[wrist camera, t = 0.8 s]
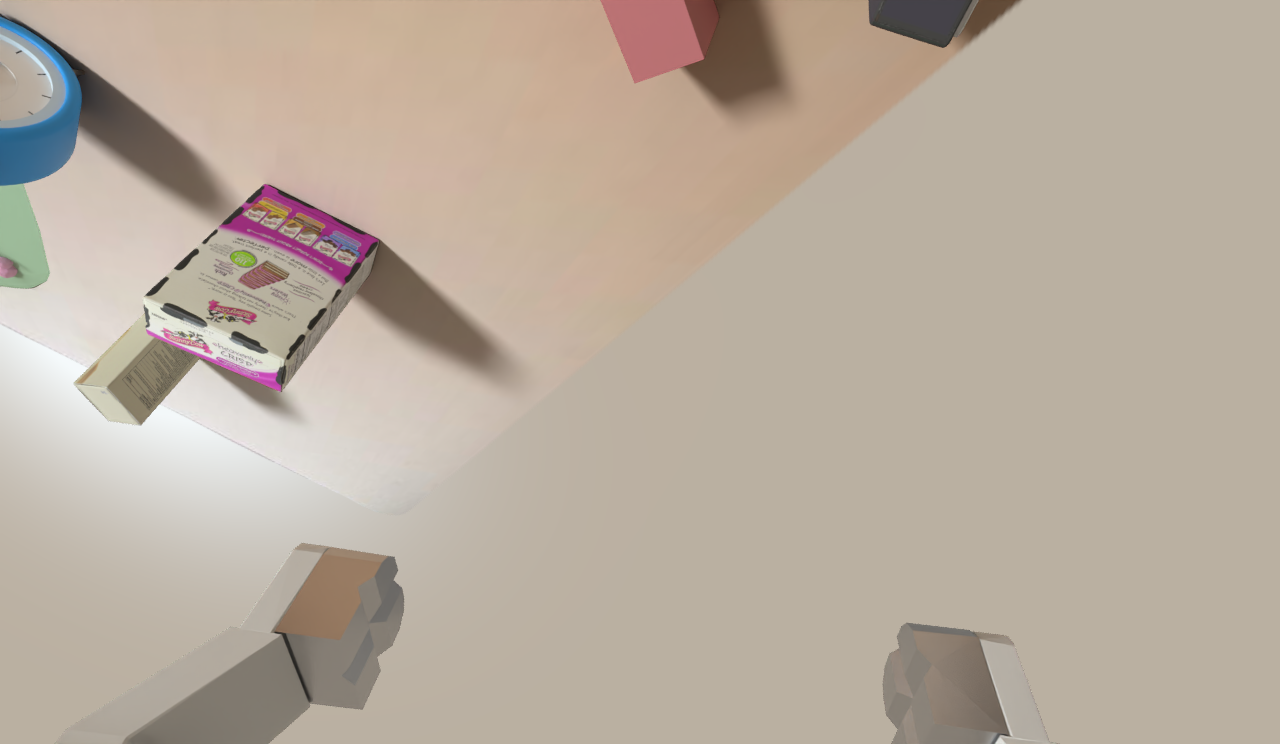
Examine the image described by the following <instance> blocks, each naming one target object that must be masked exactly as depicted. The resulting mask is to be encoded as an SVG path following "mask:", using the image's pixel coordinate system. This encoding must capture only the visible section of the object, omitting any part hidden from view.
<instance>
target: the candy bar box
mask: <svg viewBox="0 0 1280 744" xmlns="http://www.w3.org/2000/svg"><path fill="white" fill-rule="evenodd" d="M378 244H379V240H378V239H376V238H375V237H373V236H371V235H369V234H367V233H365V232H363V231H361V230H358V229H356V228H354V227H352V226H350V225H348V224H346V223H344V222H342V221H340V220H338V219H336V218H334V217H332V216H330V215H328V214H326V213H324V212H322V211H320V210H318V209H316V208H313V207H311V206H309V205H307V204H305V203H303V202H301V201H299V200H297V199H295V198H293V197H291V196H289V195H287V194H285V193H283V192H281V191H279V190H277V189H275V188H273V187H271V186H269V185H267V184H264V185H262V187H261V188H260V189H258V190H257V191H256V192H255V193H254V194H253V195H252V196H251V197H250V198H248V199H247V201H246V202H244V203H243V204H242V205H241V206H240V207H239V208H238V209H237V210H236V211H235V212H234V213H233V214H231V215H230V216H229V217H228V218H227V219H226V220H225V221H224V222H223V223H222V224H221V225H220V226H219V227H218V228H216V229H215V231H214V232H213V233H211V234H210V235H209V236H208V237H207V238H206V239H205V240H204V241H203V242H202V243H200V244H199V245H198V246H197V247H196V248H195V249H194V250H193V251H192V252H191V253H190V254H189V255H188V256H187V257H185V258H184V259H183V260H182V261H181V262H180V263H179V264H178V265H177V266H176V267H175V268H174V269H173V270H172V271H171V272H170V273H168V274H167V275H166V276H165V277H164V278H163V279H162V280H161V281H160V282H159V283H158V284H157V285H156V286H154V287H153V288H152V289H151V290H150V291H149V292H148V293H147V294H146V295H145V296H144V297H143V304H144V310H145V319H146V322H147V325H146V326H145V328H146V331H147V334H148V335H150V336H152V337H155V338H157V339H159V340H162V341H164V342H166V343H169V344H171V345H173V346H175V347H178V348H180V349H182V350H185V351H187V352H189V353H191V354H194V355H196V356H198V357H201V358H203V359H205V360H208V361H210V362H212V363H214V364H217V365H219V366H221V367H224V368H226V369H228V370H231V371H233V372H235V373H237V374H240V375H242V376H244V377H247V378H249V379H251V380H253V381H256V382H258V383H261V384H263V385H265V386H267V387H270V388H272V389H274V390H276V391H279V392H282V390H283V389H284V388H285V386H286V385H287V384H288V383H289V381H290V380H291V379H292V377H293V376H294V375H295V373H296V372H297V370H298V369H299V368H300V366H301V365H302V364H303V362H304V361H305V360H306V358H307V357H308V356H309V354H310V353H311V352H312V350H313V349H314V348H315V346H316V345H317V344H318V343H319V341H320V340H321V338H322V337H323V336H324V334H325V333H326V332H327V330H328V329H329V328H330V327H331V325H332V324H333V323H334V321H335V320H336V319H337V317H338V316H339V315H340V313H341V312H342V311H343V309H344V308H345V307H346V305H347V304H348V303H349V301H350V300H351V299H352V297H353V296H354V295H355V293H356V292H357V291H358V289H359V288H360V287H361V285H362V284H363V283H364V281H365V280H366V279H367V277H368V276H369V274H370V273H371V270H372V267H373V262H374V257H375V254H376V251H377V247H378Z"/></svg>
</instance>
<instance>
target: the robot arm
mask: <svg viewBox="0 0 1280 744" xmlns="http://www.w3.org/2000/svg"><path fill="white" fill-rule="evenodd" d="M397 571H398V568H397V565H396V562H395V557H392V556H385V555H379V554H372V553H366V552H359V551H353V550H346V549H339V548H334V547H328V546H320V545H312V544H305V543H301V544H300V545H299V546H297V547H296V548H295V549H293V550H292V551H291V553H290V554H289V556H288V557H287V559H286V560H285V561H284V563H283V564H282V566H281V567H280V569H279V570H278V572H277V574H276V575H275V576H274V578H273V579H272V581H271V582H270V584H269V585H268V587H267V588H266V589H265V591H264V592H263V594H262V595H261V597H260V598H259V600H258V601H257V603H256V604H255V605H254V607H253V608H252V610H251V611H250V613H249V614H248V616H247V617H246V619H245V620H244V622H243V623H242V625H241V626H240V628H236V627H229V628H228V629H226V630H225V631H223V632H221V633H220V634H218V635H216V636H215V637H213V638H212V639H210V640H208V641H207V642H205V643H204V644H202V645H201V646H199V647H197V648H196V649H194V650H192V651H191V652H189V653H188V654H186V655H185V656H183V657H181V658H180V659H178V660H176V661H175V662H173V663H172V664H170V665H168V666H167V667H165V668H164V669H162V670H160V671H159V672H157V673H156V674H154V675H152V676H151V677H149V678H147V679H146V680H144V681H143V682H141V683H139V684H138V685H136V686H135V687H133V688H131V689H130V690H129V691H127V692H125V693H123V694H122V695H120V696H119V697H117V698H115V699H114V700H112V701H111V702H109V703H108V704H106V705H104V706H103V707H101V708H99V709H98V710H96V711H95V712H93V713H91V714H90V715H88V716H86V717H85V718H83V719H82V720H80V721H78V722H77V723H75V724H74V725H72V726H70V727H69V728H67V729H66V730H65V731H64V733H63V734H62V735H61V736H60V738H59V739H58V740H57V741H56V742H55V744H268V743H270V742H271V741H272V740H273V739H274V738H275V737H276V736H277V735H279V734H280V733H281V732H282V731H283V730H284V729H286V728H287V727H288V726H289V725H290V724H291V723H292V722H294V720H296V719H297V718H298V717H299V716H300V715H301V714H302V713H304V712H305V711H306V710H307V709H308V708H309V707H310V704H309V703H311V704H320V705H328V706H336V707H345V708H354V709H363V707H364V705H365V703H366V701H367V699H368V697H369V695H370V692H371V690H372V688H373V686H374V684H375V681H376V680H377V677H378V675H379V673H380V667H379V663H378V659H377V657H378V656H379V655H380V654H382V653H383V652H384V651H386V650H387V649H388V648H390V647H391V646H392V645H393V642H394V640H395V638H396V636H397V633H398V631H399V629H400V625H401V620H402V616H403V612H404V595H403V590H402V588H401V587H400V586H399V585H398V584H397V583H396V582H395V581H394V577H395V575H396V574H397ZM897 639H898V644H899V649H897V650H896V651H894V652H892V653H890V654H889V657H888V659H887V662H886V665H885V669H884V678H883V695H884V696H883V697H884V704H885V711H886V715H887V717H888V718H889V719H890V720H891V722H892V723H893V724H894V725H895V726H896V728H897V729H898V730H897V733H896V735H895V737H894V739H893V741H892V743H891V744H1058V743H1053V742H1050V741H1049V739H1048V736H1047V733H1046V730H1045V728H1044V725H1043V722H1042V719H1041V717H1040V714H1039V711H1038V708H1037V706H1036V703H1035V700H1034V698H1033V695H1032V692H1031V689H1030V687H1029V684H1028V681H1027V679H1026V676H1025V673H1024V670H1023V668H1022V665H1021V662H1020V660H1019V657H1018V654H1017V651H1016V648H1015V646H1014V643H1013V642H1012V641H1011V639H1010V638H1009V637H1008V636H1004V635H998V634H989V633H981V632H971V631H970V630H964V629H956V628H947V627H938V626H930V625H921V624H913V623H906V624H904V625H903V626H901V629H900V631H899V633H898V635H897Z"/></svg>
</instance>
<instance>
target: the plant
mask: <svg viewBox="0 0 1280 744" xmlns="http://www.w3.org/2000/svg"><path fill="white" fill-rule="evenodd" d="M49 274H50V272H49V267H48V263H47V259H46V255H45V250H44V246H43V242H42V238H41V234H40V230H39V227H38V224H37V221H36V218H35V216H34V213H33V210H32V207H31V204H30V201H29V199H28V196H27V193H26V190H25V187H24V184H17V185H7V186H0V286H3V287H11V288H32V287H35V286H38V285H39V284H41V283H43V282H45V281H47V279H48V277H49Z"/></svg>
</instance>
